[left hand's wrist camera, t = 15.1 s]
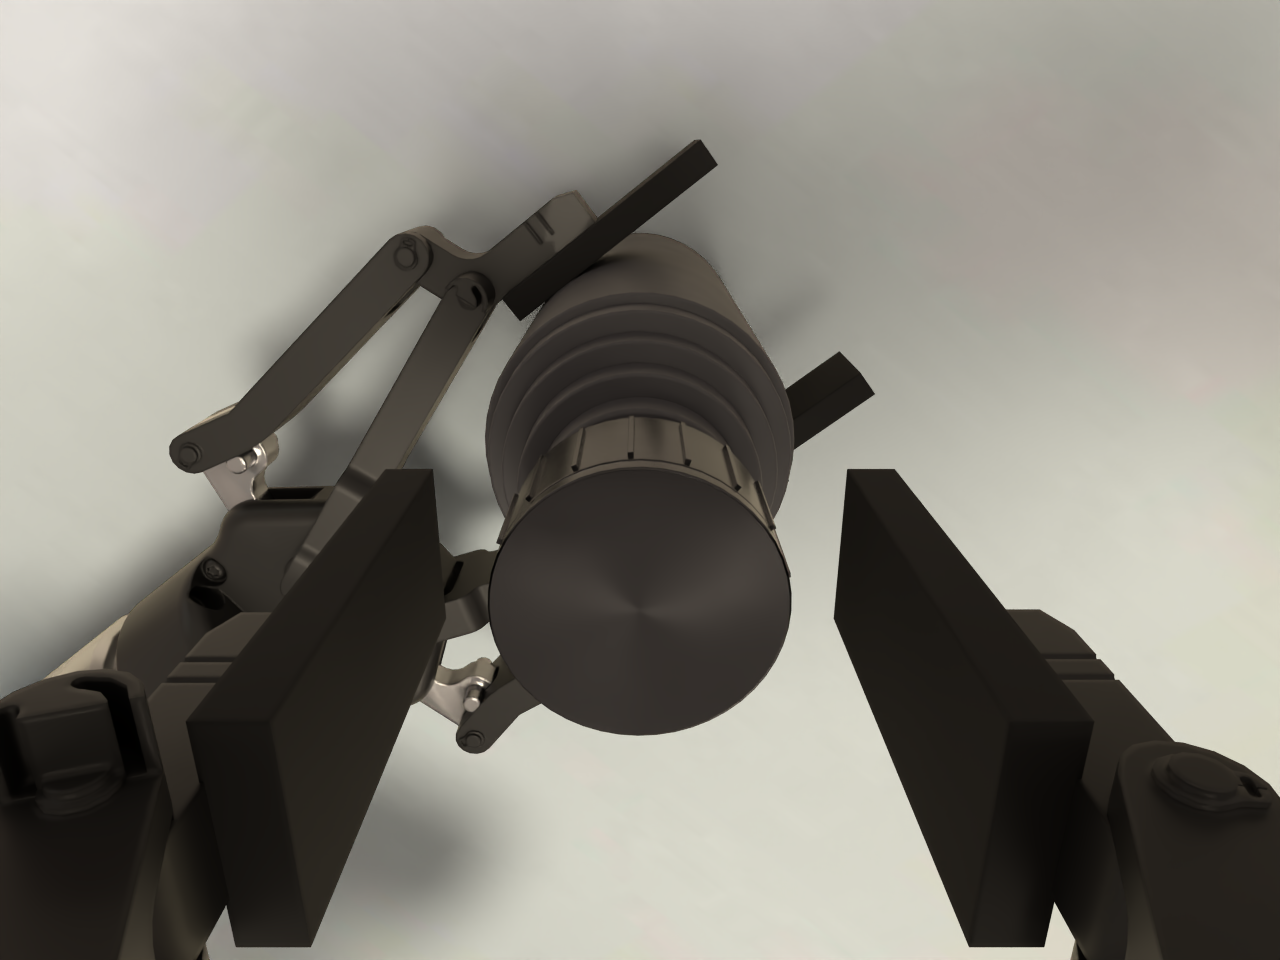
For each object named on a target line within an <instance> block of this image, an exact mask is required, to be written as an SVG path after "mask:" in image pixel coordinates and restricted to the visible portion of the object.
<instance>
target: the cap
mask: <svg viewBox="0 0 1280 960" xmlns="http://www.w3.org/2000/svg"><path fill="white" fill-rule="evenodd" d="M775 529H776V526H775V524H774V521H773V518H772V515H771V512H770V510H769V507H768V504H767V501H766V498H765V496H764V493H763V490H762V487H761V484H760V483H759V481H756V482H755V481H754V479H753V478H752V476H751V474H750V473H749V471H748V470H747V468H746V467H745V466H744V465H743V464H742V463H741V461H740V460H739V459H738V458H737V457H736V456H735V455H734V454H733V453H732V452H731V450H730V447H729V446H728V445H725V446H724V445H722V444H721V443H719V442H718V441H716V440H715V439H713V438H712V437H710V436H709V435H707V434H705V433H703V432H701V431H699V430H697V429H695V428H692V427H689V426H686V423H684V422H680V423H677V422H673V421H668V420H663V419H657V418H644V417H638V418H634V416H629V418H622V419H616V420H611V421H606V422H602V423H599V424H596V425H593V426H590V427H587V428H584V427H582V428H579V431H578V432H576V433H574V434H572V435H571V436H569V437H568V438H566V439H564V440H563V441H561V442H560V443H558V444H557V445H556V446H555V447H553V448H552V449H551V450H550V451H549V452H547V453H546V454H545V455H544V456H543V455H542V454H541V455H540V456H539V457H538V460H537V463H536V465H535V466H534V468H533V469H532V470H531V472H530V473H529V475H528V476H527V478H526V479H525V481H524V483H523V485H522V487H521V489H520V491H519V493H518V494H515V493H514V496H513V498H512V501H511V504H510V506H509V509H508V512H507V515H506V517H505V520H504V523H503V526H502V528H501V531H500V534H499V537H498V539H497V542H496V543H497V544H500V547H499V549H498V552H497V555H496V558H495V561H494V564H493V567H492V571H491V575H490V581H489V587H488V614H489V621H490V627H491V630H492V634H493V637H494V641H495V643H496V646H497V648H498V650H499V652H500V655H501V657H502V659H503V660H504V662H505V664H506V665H507V667H508V669H509V670H510V672H511V673H512V675H513V676H514V677H515V678H516V679H517V681H518V682H519V683H520V684H521V686H522V687H523V688H524V689H525V690H526V691H527V692H529V693H530V694H531V695H532V696H533V697H534V698H535V699H536V700H537V701H539V702H540V703H542V704H543V705H544V706H546V707H547V708H548V709H550V710H551V711H553V712H555V713H557V714H558V715H560V716H562V717H564V718H566V719H568V720H570V721H572V722H575V723H577V724H580V725H582V726H585V727H588V728H592V729H595V730H599V731H603V732H609V733H614V734H621V735H637V736H640V735H658V734H665V733H671V732H676V731H680V730H684V729H688V728H691V727H694V726H697V725H699V724H702V723H704V722H707V721H710V720H711V719H713V718H715V717H717V716H719V715H721V714H723V713H725V712H726V711H728V710H729V709H731V708H732V707H734V706H735V705H736V704H738V703H739V702H741V701H742V700H743V699H744V698H745V697H746V696H747V695H749V694H750V693H751V692H752V691H753V690H754V689H755V688H756V687H757V686H758V684H759V683H760V682H761V681H762V680H763V679H764V677H765V676H766V675H767V673H768V672H769V670H770V669H771V667H772V666H773V664H774V663H775V661H776V659H777V657H778V655H779V653H780V651H781V649H782V647H783V644H784V641H785V638H786V635H787V631H788V628H789V622H790V616H791V586H790V579H789V577H791V575H790V570H789V568H788V565H787V562H786V559H785V556H784V553H783V551H782V548H781V545H780V542H779V539H778V536H777V534H776V531H775Z"/></svg>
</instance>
